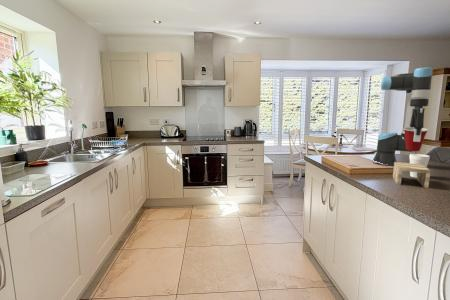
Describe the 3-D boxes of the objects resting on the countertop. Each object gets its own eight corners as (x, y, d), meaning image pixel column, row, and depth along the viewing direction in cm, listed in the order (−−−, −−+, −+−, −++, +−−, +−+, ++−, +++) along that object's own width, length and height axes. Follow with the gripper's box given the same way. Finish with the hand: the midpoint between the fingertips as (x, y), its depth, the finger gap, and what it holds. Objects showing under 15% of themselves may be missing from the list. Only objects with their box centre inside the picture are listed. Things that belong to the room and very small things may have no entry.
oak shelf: (392, 176, 146) (394, 161, 145) (419, 179, 140) (421, 164, 139) (397, 184, 130) (399, 167, 129) (428, 187, 125) (430, 170, 123)
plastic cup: (402, 151, 131) (405, 128, 128) (398, 148, 140) (401, 127, 138) (428, 152, 126) (431, 129, 124) (422, 149, 136) (425, 127, 134)
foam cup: (426, 179, 141) (430, 157, 139) (406, 176, 146) (409, 155, 144) (426, 176, 148) (429, 155, 146) (407, 173, 154) (409, 153, 152)
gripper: (406, 99, 141) (402, 138, 144) (415, 97, 120) (410, 142, 123) (423, 99, 137) (417, 139, 140) (435, 97, 117) (428, 143, 120)
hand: (414, 140), depth 132 cm, fingers closed on plastic cup, 11 cm apart
